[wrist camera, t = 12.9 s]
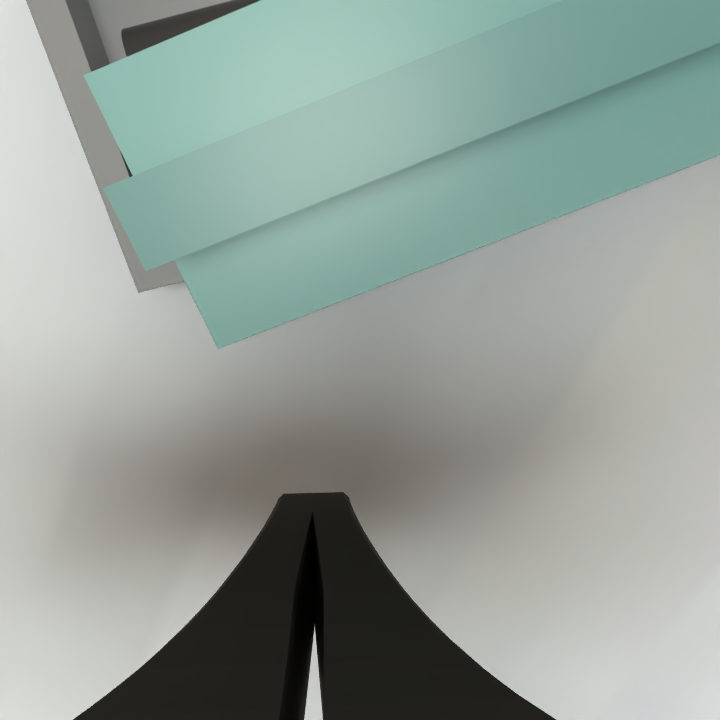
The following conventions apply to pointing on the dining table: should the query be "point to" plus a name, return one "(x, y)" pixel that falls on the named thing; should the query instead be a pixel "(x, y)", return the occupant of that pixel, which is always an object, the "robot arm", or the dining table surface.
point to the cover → (392, 136)
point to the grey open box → (98, 49)
